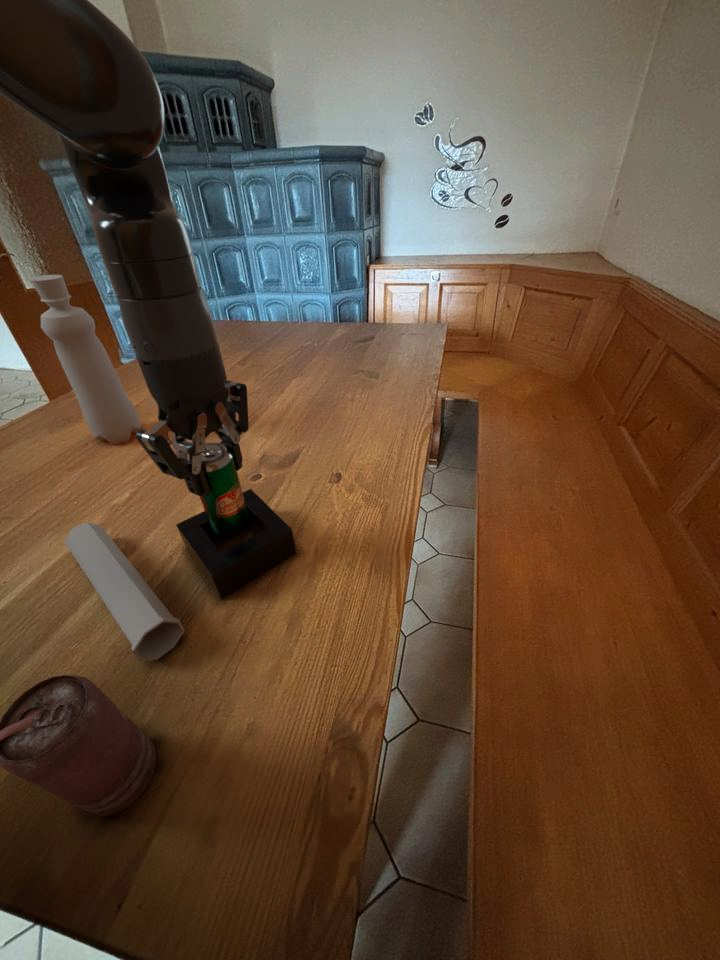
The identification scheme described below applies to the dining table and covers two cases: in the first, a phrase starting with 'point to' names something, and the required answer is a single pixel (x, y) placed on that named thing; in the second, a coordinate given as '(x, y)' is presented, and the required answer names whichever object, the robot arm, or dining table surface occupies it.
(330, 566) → the dining table surface
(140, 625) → the tube
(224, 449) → the soda can
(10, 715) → the can
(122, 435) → the bottle
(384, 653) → the dining table surface
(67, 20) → the robot arm
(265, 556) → the holder
